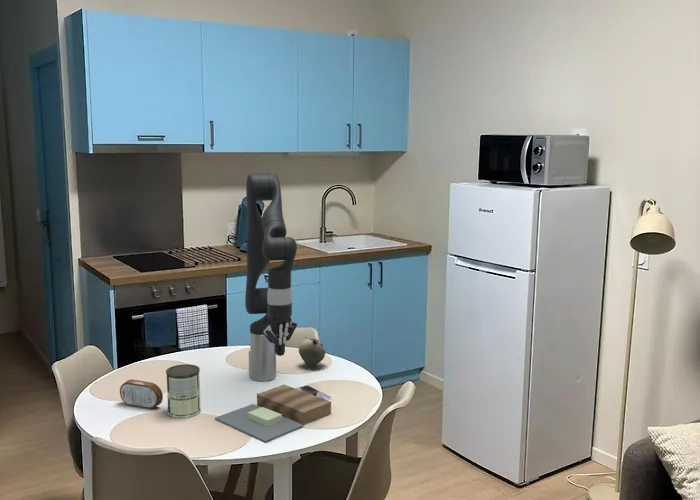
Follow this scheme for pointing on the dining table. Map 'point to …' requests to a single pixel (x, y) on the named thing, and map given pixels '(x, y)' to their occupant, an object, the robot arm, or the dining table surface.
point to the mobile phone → (314, 392)
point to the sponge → (265, 416)
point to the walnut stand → (294, 404)
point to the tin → (141, 394)
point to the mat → (257, 424)
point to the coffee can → (183, 390)
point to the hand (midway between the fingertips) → (280, 354)
